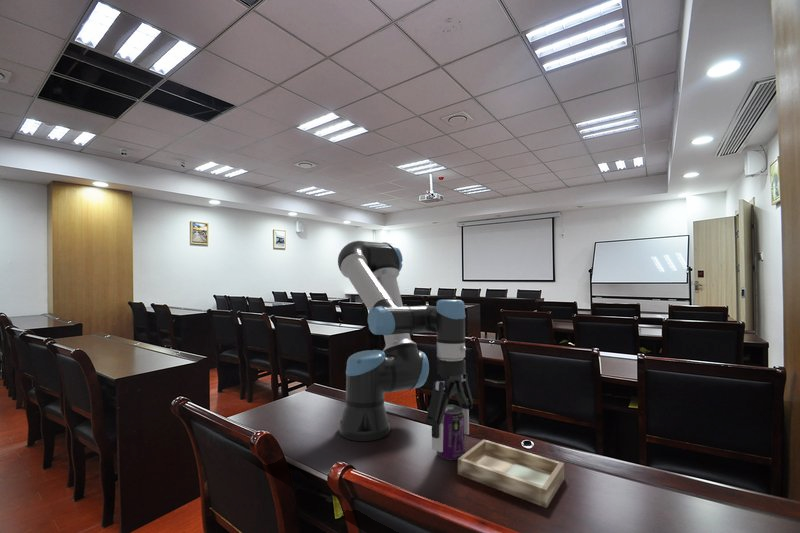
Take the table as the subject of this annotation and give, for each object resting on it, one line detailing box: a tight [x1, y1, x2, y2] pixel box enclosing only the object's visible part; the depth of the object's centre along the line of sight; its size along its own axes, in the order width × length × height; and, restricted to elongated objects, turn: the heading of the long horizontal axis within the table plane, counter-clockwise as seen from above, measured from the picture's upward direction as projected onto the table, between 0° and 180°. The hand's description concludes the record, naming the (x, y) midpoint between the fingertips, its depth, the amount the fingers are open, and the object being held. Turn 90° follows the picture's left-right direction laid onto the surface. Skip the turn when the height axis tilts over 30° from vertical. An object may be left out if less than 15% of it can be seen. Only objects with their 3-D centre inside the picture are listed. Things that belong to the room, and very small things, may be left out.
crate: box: [457, 439, 565, 509], centre depth 82 cm, size 20×14×4 cm
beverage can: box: [436, 404, 465, 461], centre depth 93 cm, size 7×7×12 cm
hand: (451, 441), depth 92 cm, fingers open, 13 cm apart
